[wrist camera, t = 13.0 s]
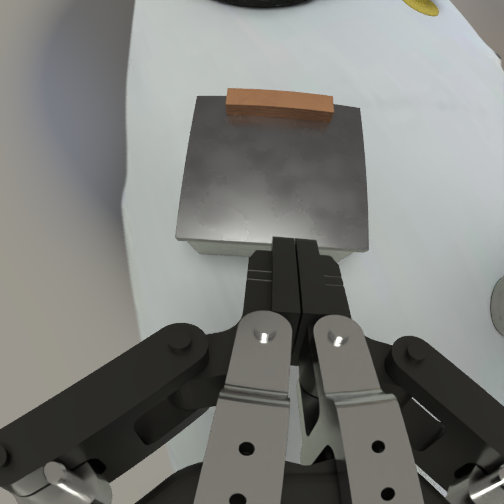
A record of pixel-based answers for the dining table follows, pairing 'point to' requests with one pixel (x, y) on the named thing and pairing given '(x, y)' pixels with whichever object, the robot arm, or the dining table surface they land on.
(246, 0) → the pressure cooker
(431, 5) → the candle
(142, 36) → the dining table surface
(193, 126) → the lid
